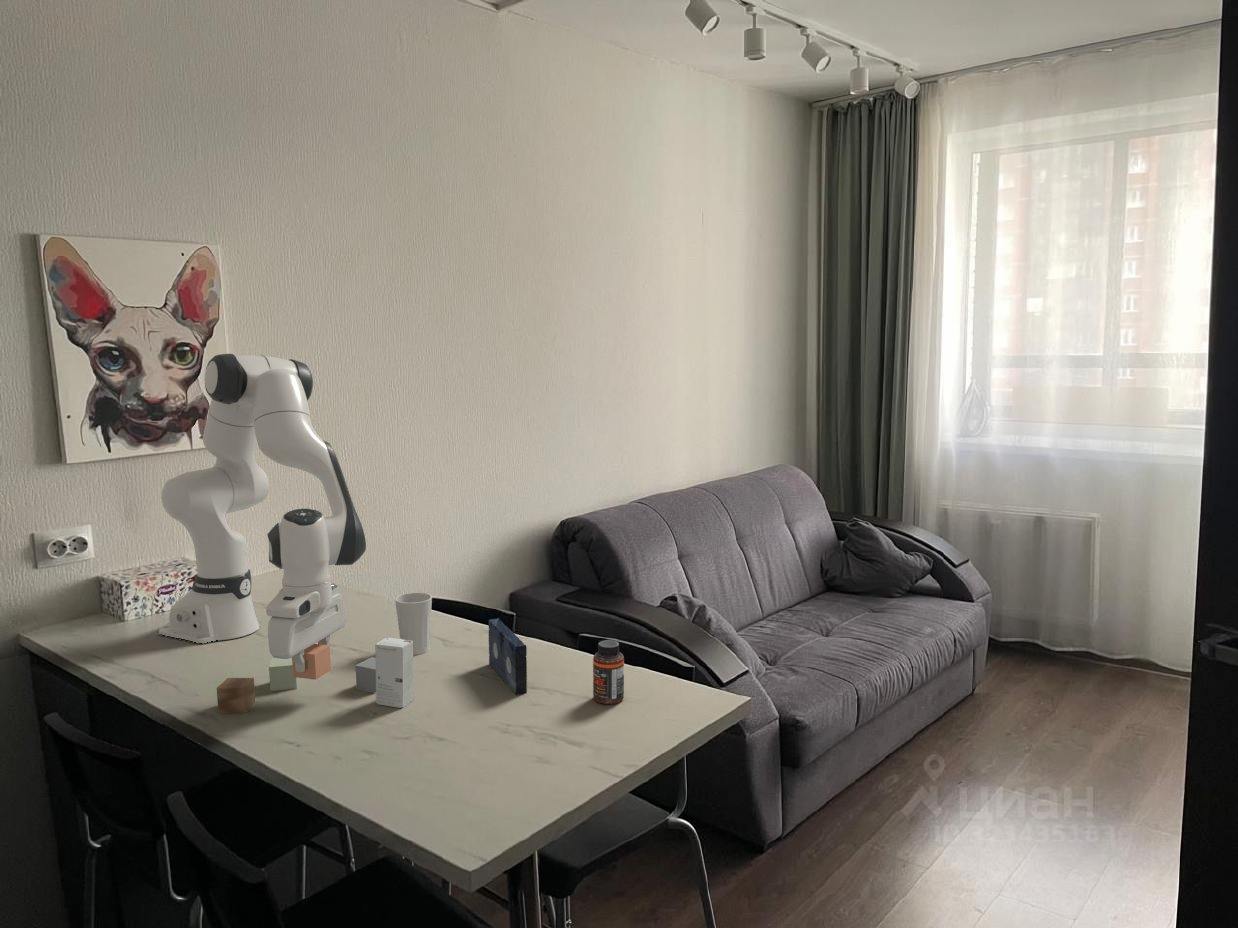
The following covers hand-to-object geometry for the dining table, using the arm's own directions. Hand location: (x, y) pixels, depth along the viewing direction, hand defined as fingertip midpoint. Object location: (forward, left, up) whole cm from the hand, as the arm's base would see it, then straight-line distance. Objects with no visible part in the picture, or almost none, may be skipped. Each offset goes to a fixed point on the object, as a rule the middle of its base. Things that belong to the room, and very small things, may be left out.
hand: (311, 664), depth 181 cm
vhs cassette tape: (+32, +20, -7) cm, 38 cm away
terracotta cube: (0, 0, -2) cm, 2 cm away
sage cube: (-10, +5, -7) cm, 13 cm away
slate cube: (+8, +9, -7) cm, 14 cm away
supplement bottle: (+55, +15, -7) cm, 57 cm away
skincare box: (+16, +3, -7) cm, 18 cm away
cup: (+6, +30, -7) cm, 31 cm away
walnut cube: (-12, -7, -7) cm, 16 cm away
